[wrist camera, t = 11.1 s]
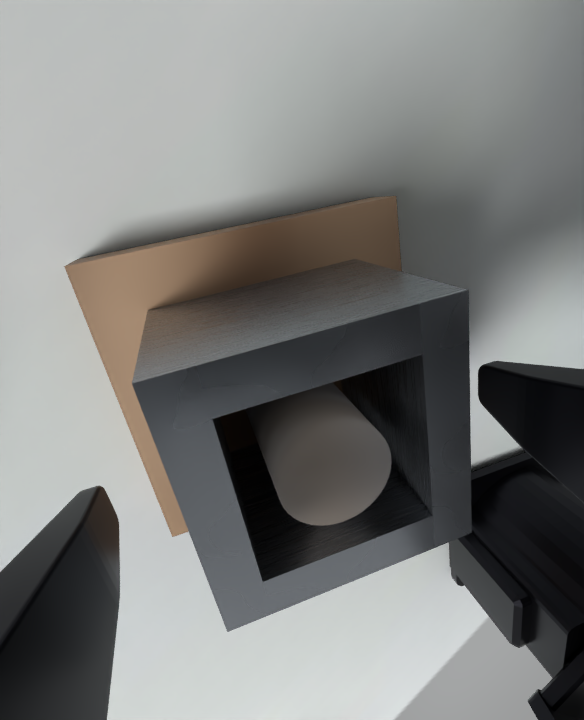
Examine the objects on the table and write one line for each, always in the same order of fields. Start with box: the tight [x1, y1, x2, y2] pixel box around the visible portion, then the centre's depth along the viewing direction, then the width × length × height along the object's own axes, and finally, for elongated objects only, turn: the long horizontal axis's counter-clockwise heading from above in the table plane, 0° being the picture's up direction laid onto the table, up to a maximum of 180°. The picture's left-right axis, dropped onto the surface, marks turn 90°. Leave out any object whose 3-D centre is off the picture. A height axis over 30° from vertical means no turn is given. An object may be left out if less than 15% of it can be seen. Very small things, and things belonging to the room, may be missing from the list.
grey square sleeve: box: [132, 259, 472, 632], centre depth 10 cm, size 6×6×5 cm
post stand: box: [64, 196, 402, 537], centre depth 11 cm, size 9×9×6 cm
